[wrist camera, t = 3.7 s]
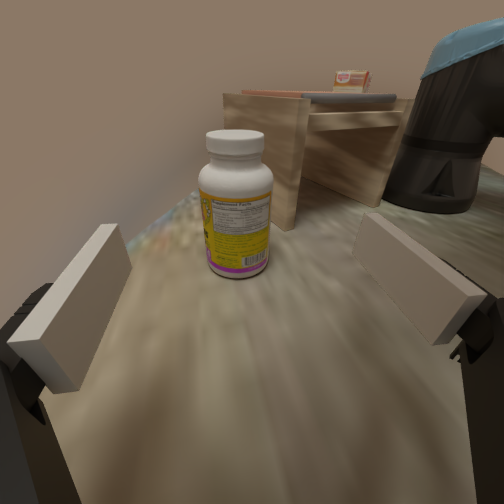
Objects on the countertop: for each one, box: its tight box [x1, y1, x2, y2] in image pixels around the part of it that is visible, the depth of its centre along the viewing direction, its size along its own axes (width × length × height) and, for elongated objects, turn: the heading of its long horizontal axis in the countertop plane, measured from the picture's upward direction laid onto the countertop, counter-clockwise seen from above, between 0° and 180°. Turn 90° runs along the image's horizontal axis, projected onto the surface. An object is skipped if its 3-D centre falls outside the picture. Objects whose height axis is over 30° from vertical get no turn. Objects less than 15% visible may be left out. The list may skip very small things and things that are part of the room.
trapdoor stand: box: [223, 93, 415, 231], centre depth 39 cm, size 19×20×15 cm
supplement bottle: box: [198, 130, 274, 278], centre depth 23 cm, size 7×7×13 cm
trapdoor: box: [242, 90, 396, 104], centre depth 34 cm, size 15×16×1 cm
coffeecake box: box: [333, 70, 372, 93], centre depth 64 cm, size 15×7×20 cm, turn 153°
